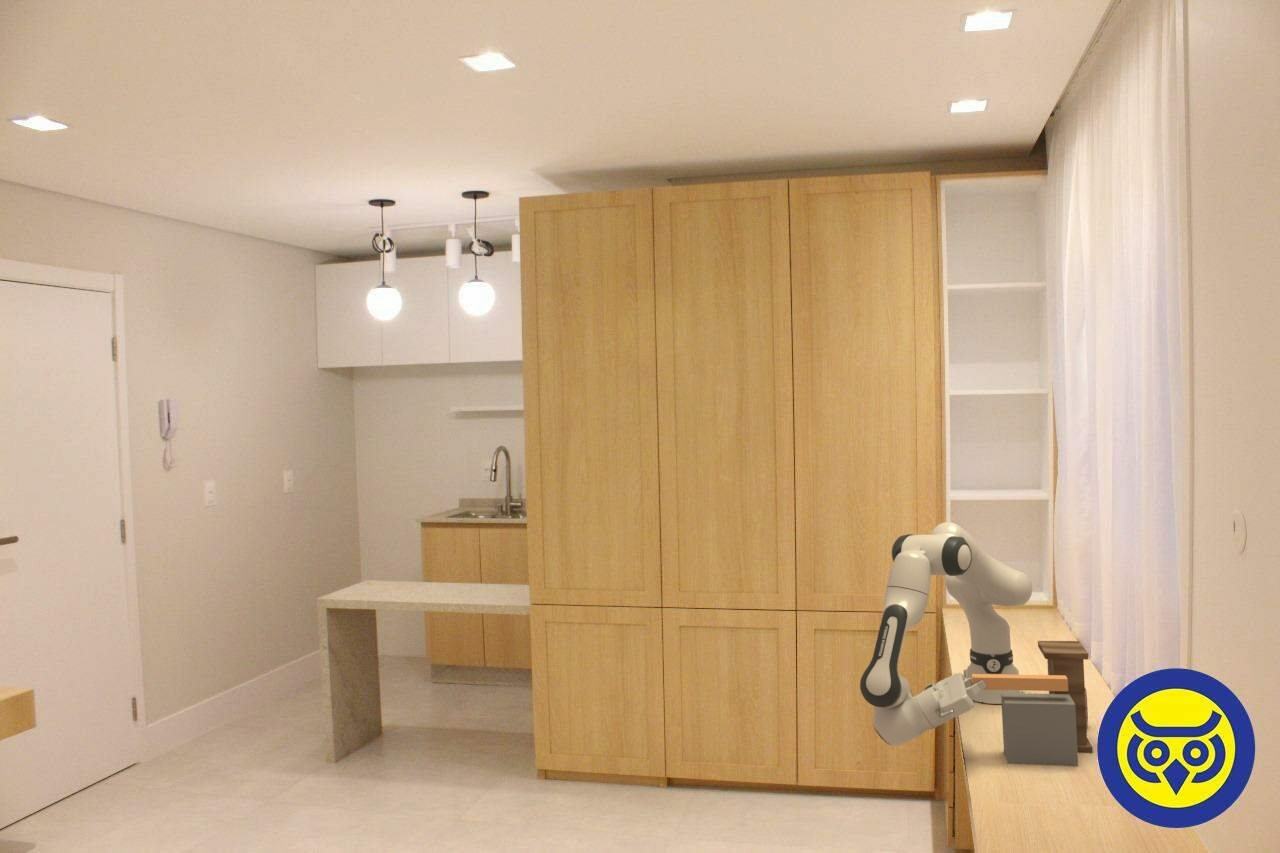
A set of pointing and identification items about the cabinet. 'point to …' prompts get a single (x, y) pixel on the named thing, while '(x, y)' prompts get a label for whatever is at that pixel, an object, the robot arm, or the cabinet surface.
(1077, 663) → the walnut stand
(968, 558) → the robot arm
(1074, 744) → the grey step block
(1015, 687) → the orange square-ended block
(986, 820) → the cabinet surface
